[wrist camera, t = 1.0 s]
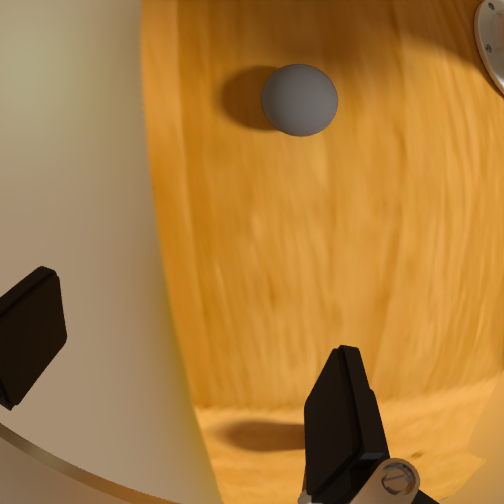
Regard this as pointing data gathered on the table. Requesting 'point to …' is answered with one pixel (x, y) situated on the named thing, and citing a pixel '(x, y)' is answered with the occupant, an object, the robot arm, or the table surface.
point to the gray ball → (299, 100)
